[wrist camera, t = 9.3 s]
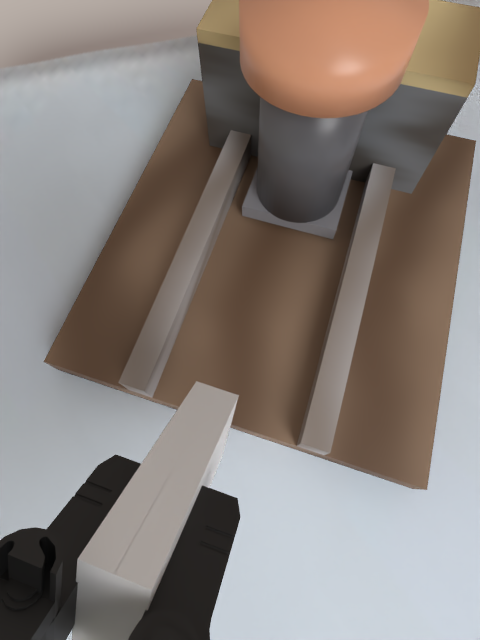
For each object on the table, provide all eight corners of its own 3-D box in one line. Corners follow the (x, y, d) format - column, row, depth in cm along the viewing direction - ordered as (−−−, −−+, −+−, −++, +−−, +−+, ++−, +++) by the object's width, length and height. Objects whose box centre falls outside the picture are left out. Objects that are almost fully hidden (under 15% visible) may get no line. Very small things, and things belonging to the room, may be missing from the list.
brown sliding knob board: (462, 159, 25) (557, 21, 17) (412, 488, 18) (534, 497, 10) (195, 99, 27) (174, -46, 20) (58, 369, 20) (-56, 305, 13)
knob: (361, 169, 22) (441, -43, 13) (337, 257, 20) (412, 77, 11) (260, 145, 23) (269, -70, 14) (227, 228, 21) (212, 37, 12)
